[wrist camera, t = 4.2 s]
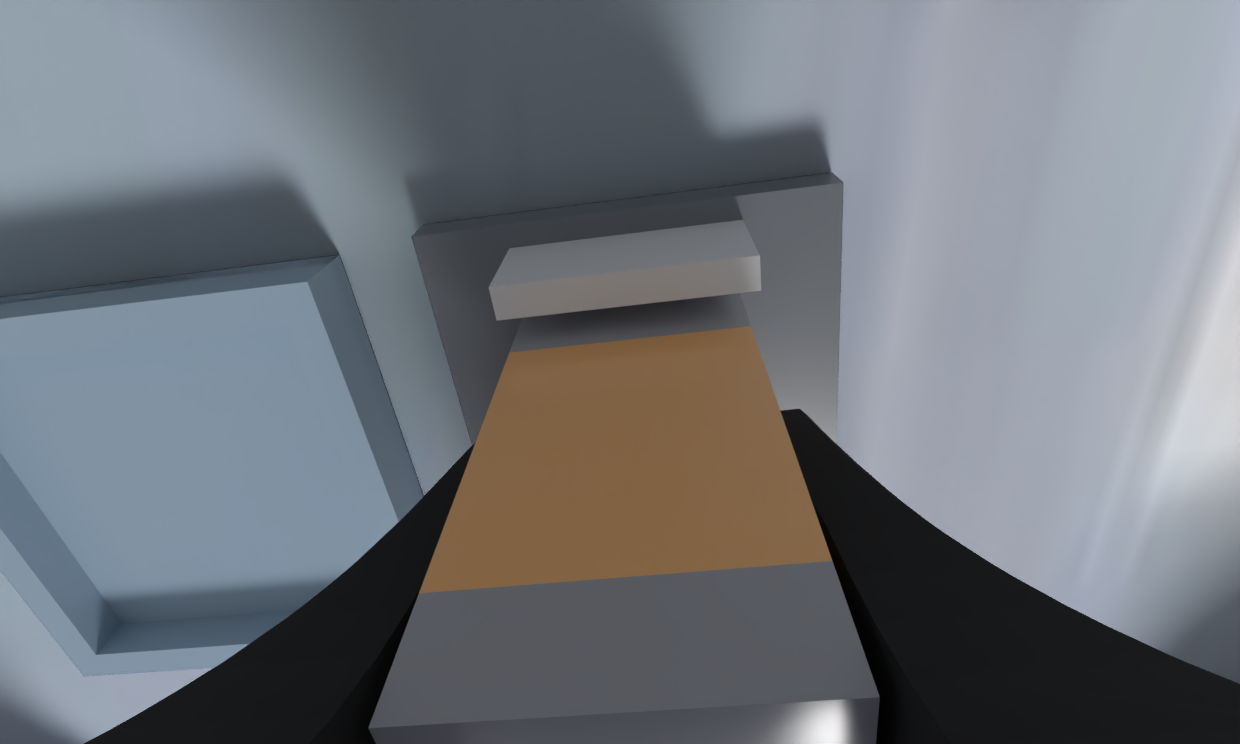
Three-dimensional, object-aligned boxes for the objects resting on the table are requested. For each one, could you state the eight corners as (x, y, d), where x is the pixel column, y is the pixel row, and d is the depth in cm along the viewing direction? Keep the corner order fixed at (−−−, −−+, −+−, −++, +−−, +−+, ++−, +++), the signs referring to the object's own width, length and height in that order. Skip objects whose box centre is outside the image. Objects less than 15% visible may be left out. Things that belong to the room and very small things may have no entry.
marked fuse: (560, 488, 14) (482, 954, 7) (522, 318, 12) (367, 729, 5) (749, 471, 14) (860, 945, 7) (739, 293, 12) (878, 697, 5)
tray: (121, 631, 19) (83, 676, 18) (-107, 310, 15) (-181, 341, 13) (461, 605, 19) (447, 651, 17) (339, 254, 14) (307, 281, 12)
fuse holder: (596, 841, 24) (591, 936, 22) (423, 224, 13) (374, 274, 11) (820, 832, 24) (841, 928, 21) (832, 172, 13) (878, 212, 10)
